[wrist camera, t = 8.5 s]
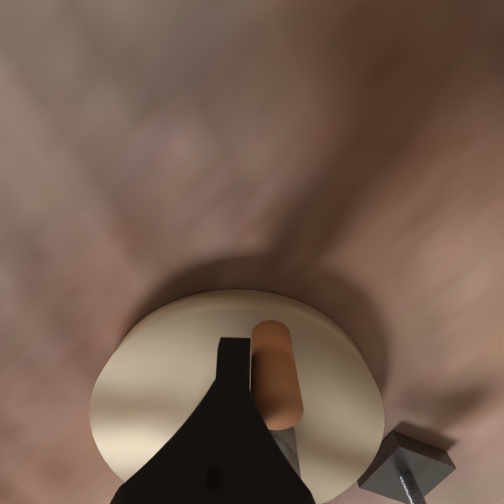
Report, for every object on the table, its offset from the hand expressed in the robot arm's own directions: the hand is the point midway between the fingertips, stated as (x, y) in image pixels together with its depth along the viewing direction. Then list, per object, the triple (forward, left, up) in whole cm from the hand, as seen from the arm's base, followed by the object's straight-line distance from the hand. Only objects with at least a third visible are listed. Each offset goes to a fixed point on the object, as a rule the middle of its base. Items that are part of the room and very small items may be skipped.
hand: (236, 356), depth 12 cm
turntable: (-6, +3, -4) cm, 8 cm away
